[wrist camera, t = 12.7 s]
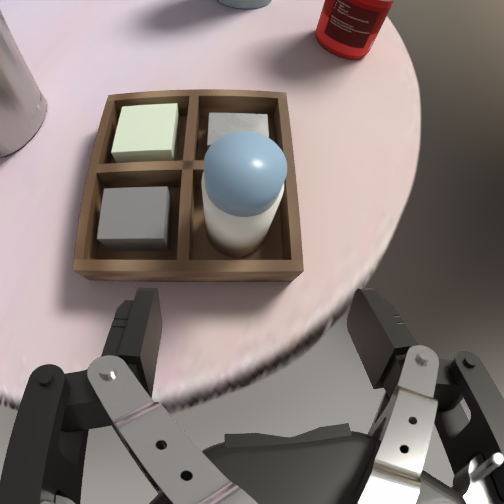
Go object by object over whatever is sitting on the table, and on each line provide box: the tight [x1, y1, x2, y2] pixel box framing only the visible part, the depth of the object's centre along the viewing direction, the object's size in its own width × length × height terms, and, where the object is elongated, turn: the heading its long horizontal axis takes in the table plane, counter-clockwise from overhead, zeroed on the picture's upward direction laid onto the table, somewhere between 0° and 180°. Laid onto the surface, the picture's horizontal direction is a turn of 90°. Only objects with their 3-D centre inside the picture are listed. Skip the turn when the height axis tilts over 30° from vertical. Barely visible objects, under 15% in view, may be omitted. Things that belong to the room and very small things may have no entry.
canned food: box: [316, 0, 394, 59], centre depth 30 cm, size 8×8×11 cm
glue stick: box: [201, 131, 287, 257], centre depth 21 cm, size 5×5×10 cm
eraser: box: [97, 187, 172, 251], centre depth 23 cm, size 5×4×3 cm
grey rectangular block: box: [207, 113, 269, 149], centre depth 27 cm, size 5×4×2 cm
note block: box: [111, 103, 180, 163], centre depth 26 cm, size 5×5×3 cm
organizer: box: [73, 90, 304, 282], centre depth 25 cm, size 16×16×4 cm
